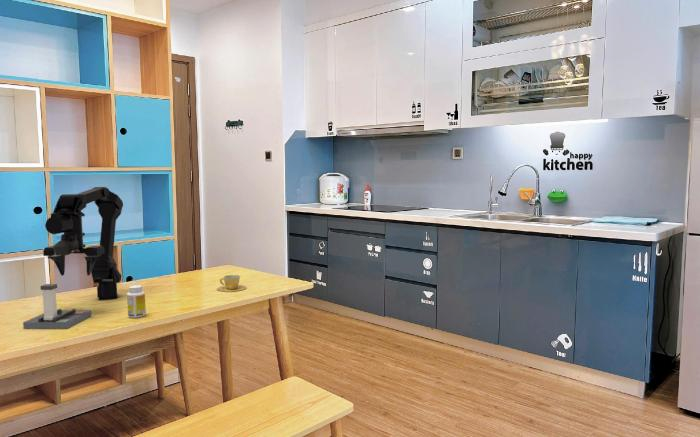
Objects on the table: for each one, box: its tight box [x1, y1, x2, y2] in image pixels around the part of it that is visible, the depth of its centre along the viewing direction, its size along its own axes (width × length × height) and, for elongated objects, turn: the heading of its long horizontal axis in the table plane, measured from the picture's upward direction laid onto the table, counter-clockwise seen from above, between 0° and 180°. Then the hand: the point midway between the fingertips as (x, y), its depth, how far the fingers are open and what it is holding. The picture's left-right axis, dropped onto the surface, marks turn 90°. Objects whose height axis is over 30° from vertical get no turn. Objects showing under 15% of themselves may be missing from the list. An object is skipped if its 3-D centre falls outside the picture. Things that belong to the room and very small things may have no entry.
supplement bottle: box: [126, 284, 147, 319], centre depth 173 cm, size 6×6×10 cm
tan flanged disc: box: [216, 274, 247, 293], centre depth 212 cm, size 12×12×5 cm
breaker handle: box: [39, 283, 58, 320], centre depth 162 cm, size 3×4×11 cm
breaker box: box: [22, 308, 92, 330], centre depth 167 cm, size 14×14×3 cm
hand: (75, 275), depth 177 cm, fingers open, 9 cm apart
